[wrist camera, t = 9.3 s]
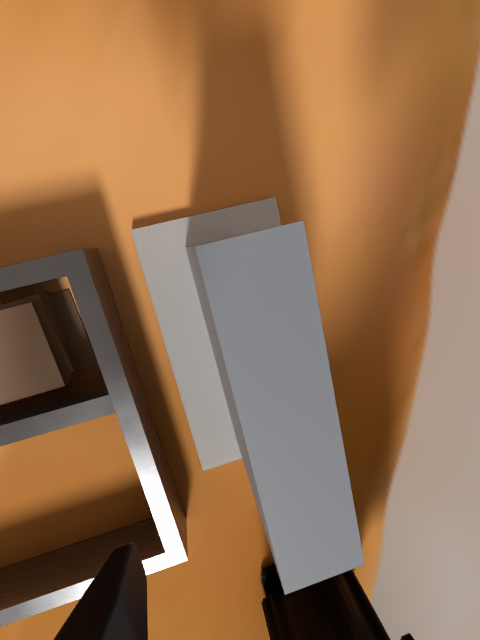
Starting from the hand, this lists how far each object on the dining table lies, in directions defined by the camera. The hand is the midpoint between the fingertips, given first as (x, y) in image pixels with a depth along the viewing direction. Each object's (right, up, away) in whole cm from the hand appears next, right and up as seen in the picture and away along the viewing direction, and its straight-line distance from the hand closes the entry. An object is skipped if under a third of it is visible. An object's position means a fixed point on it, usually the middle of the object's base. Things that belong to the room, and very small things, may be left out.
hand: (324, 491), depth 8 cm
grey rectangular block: (-2, +3, +12) cm, 12 cm away
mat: (-2, +3, +12) cm, 13 cm away
